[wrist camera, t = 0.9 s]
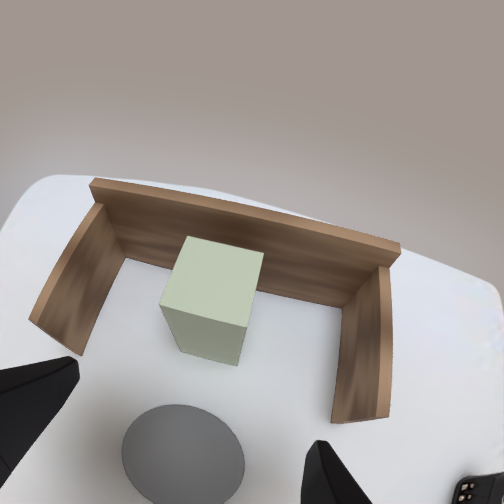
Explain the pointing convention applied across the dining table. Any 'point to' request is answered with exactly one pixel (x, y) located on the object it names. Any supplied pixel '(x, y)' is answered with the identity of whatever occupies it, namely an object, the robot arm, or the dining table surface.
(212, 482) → the grey mat
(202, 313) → the block
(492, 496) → the battery charger
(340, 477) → the robot arm
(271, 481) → the dining table surface
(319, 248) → the open box
